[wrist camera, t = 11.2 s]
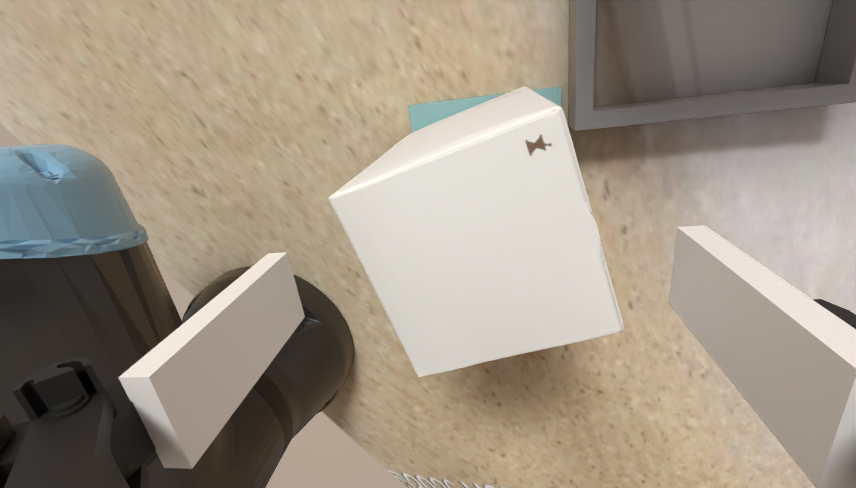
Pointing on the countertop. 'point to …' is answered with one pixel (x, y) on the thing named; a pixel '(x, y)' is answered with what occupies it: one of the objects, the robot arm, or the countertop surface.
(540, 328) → the supplement box
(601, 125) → the case
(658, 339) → the countertop surface
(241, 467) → the robot arm
